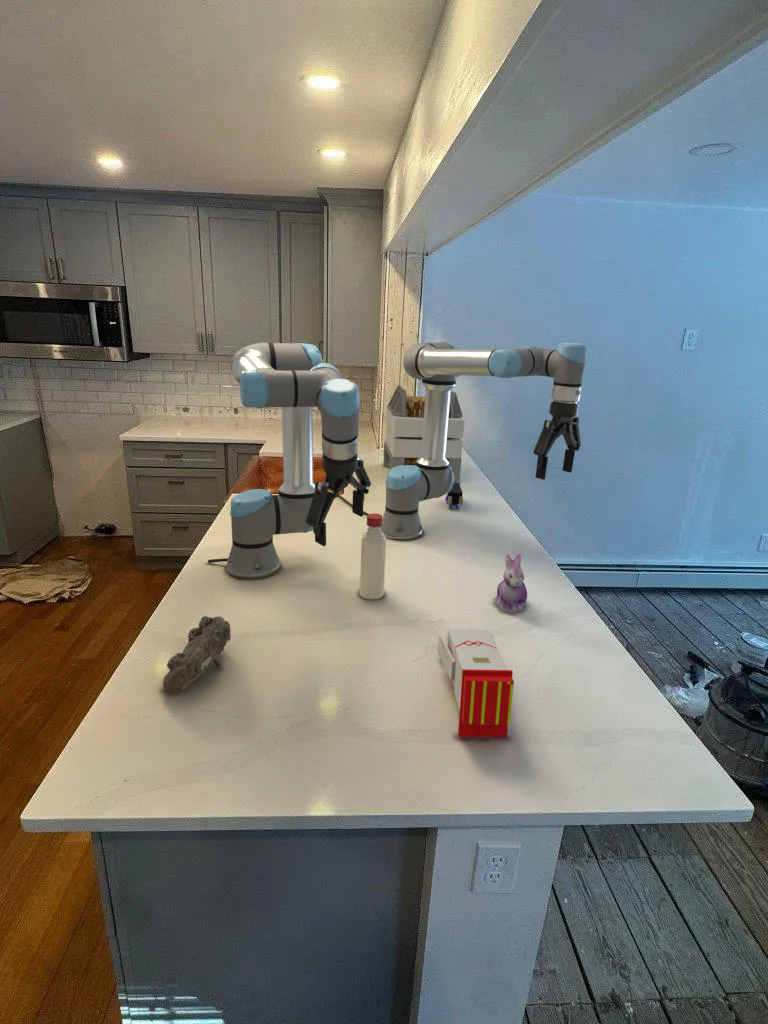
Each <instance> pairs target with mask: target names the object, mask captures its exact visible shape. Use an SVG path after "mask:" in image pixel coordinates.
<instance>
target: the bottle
mask: <svg viewBox="0 0 768 1024" xmlns="http://www.w3.org/2000/svg"><path fill="white" fill-rule="evenodd" d="M386 551H387V537H385V535H384V533H383V532H382V530H381V528H380V527H369V526H367V529H366V530H365V532H364V533H363V534H362V535H361V537H360V565H359V566H360V567H359V569H360V570H359V572H360V573H359V596H361V597H362V598H363V599H366V600H379V599H381V598H382V597H383V596H384V593H385V577H386V576H385V574H386V573H385V572H386V555H387V554H386Z"/></svg>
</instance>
